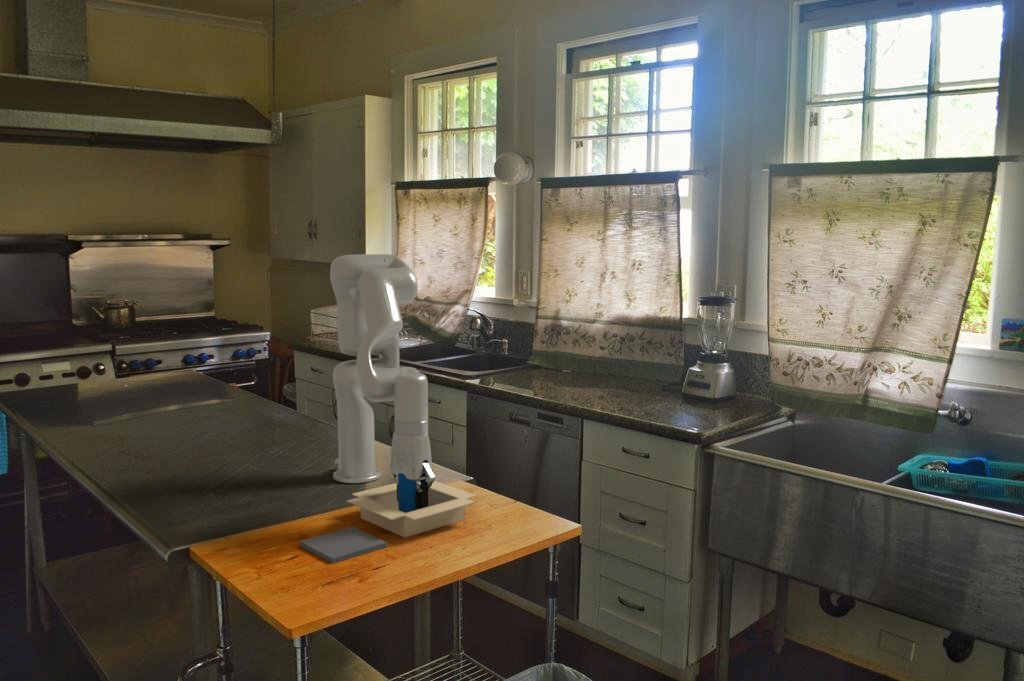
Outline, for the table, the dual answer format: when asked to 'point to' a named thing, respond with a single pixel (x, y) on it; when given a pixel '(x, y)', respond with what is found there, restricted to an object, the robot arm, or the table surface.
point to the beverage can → (407, 493)
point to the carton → (441, 511)
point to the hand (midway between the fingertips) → (412, 503)
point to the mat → (343, 544)
